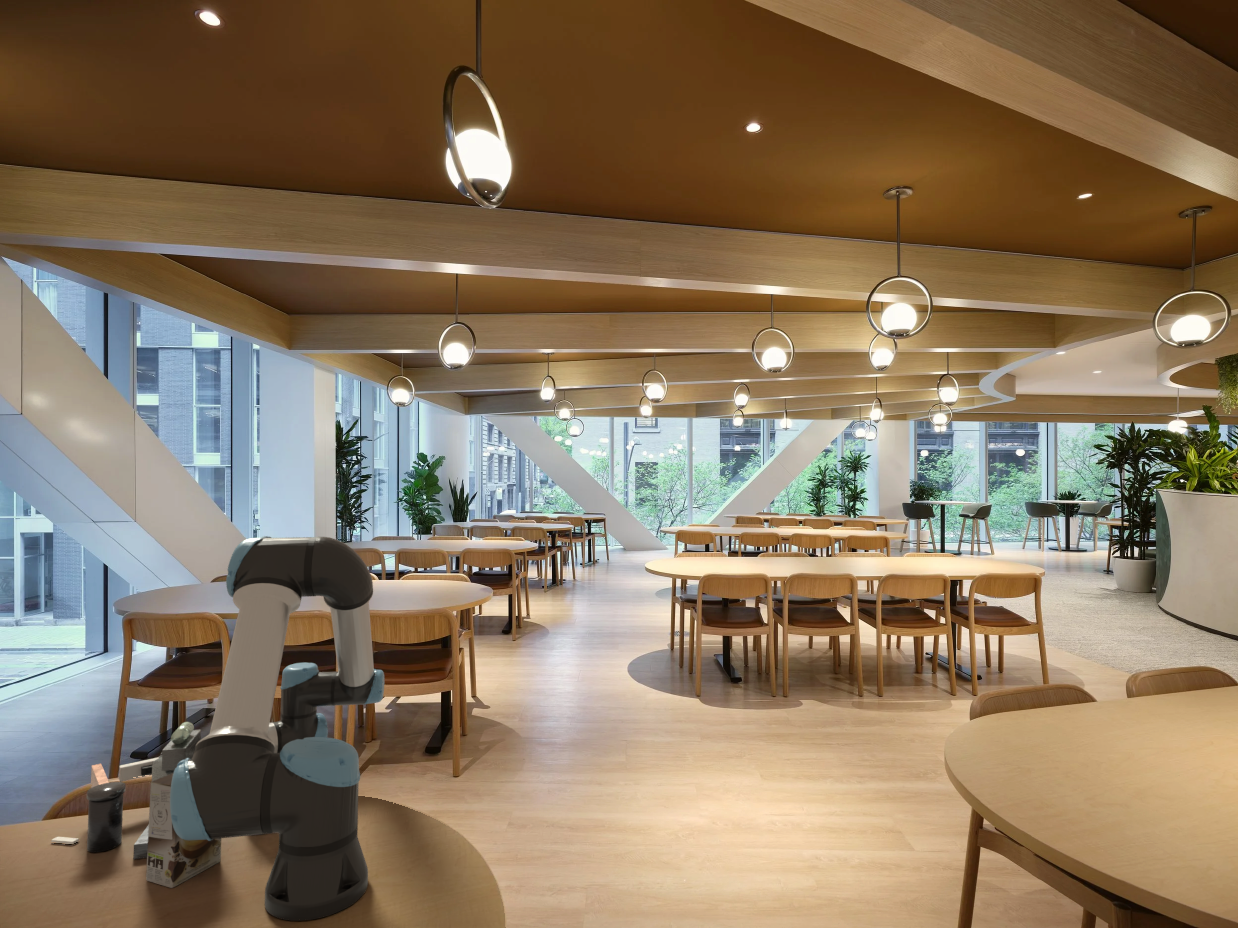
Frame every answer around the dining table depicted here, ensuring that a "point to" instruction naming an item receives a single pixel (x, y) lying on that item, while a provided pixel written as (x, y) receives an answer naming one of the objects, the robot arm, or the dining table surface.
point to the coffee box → (173, 843)
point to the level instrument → (170, 768)
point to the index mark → (65, 840)
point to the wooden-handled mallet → (104, 811)
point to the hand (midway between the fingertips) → (119, 773)
